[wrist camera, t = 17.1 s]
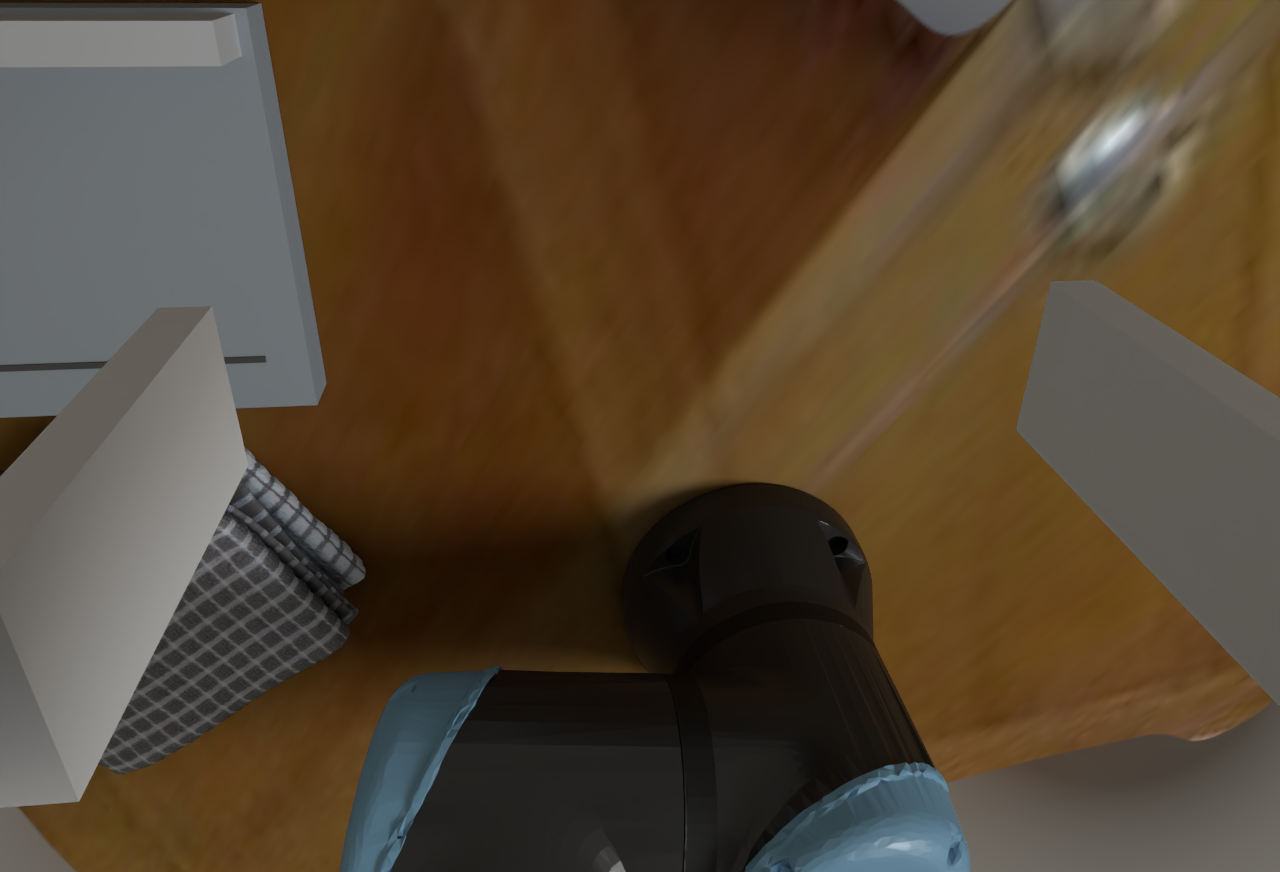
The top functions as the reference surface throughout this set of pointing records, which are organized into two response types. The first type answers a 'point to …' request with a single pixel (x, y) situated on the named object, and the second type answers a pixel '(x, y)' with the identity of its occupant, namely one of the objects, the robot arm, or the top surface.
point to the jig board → (146, 198)
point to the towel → (240, 621)
